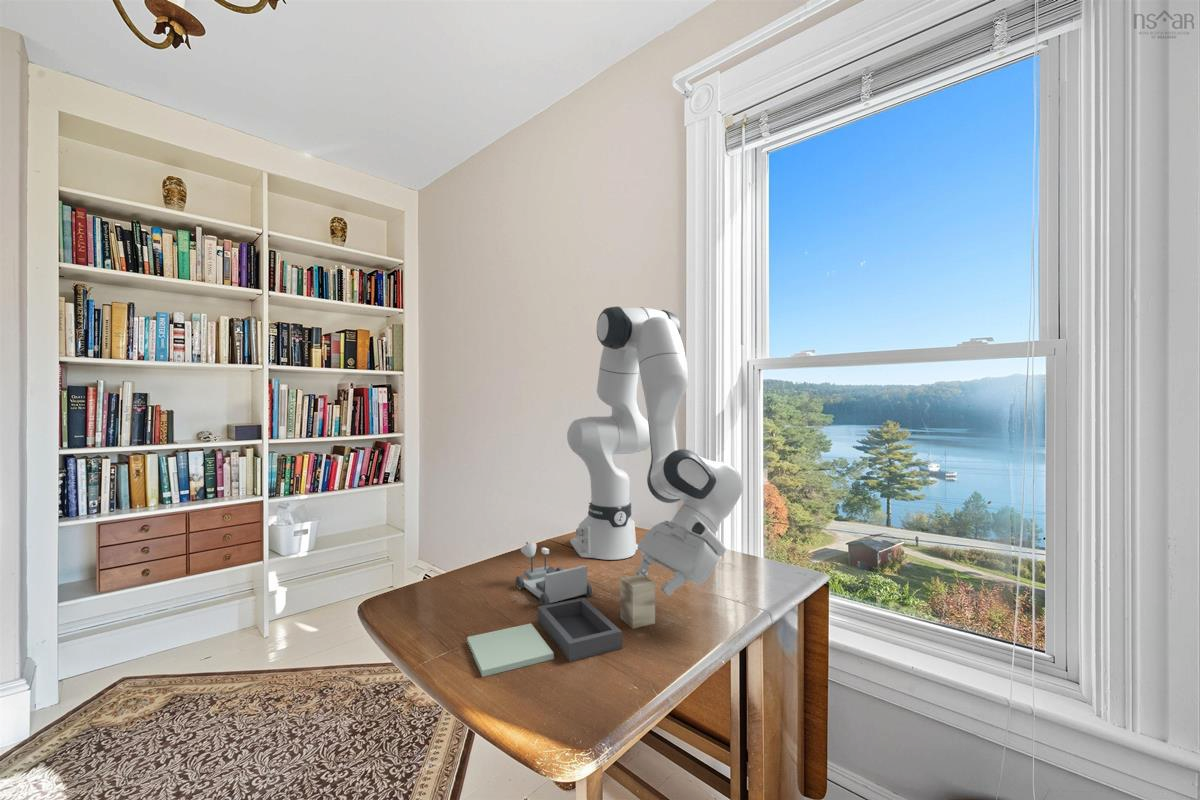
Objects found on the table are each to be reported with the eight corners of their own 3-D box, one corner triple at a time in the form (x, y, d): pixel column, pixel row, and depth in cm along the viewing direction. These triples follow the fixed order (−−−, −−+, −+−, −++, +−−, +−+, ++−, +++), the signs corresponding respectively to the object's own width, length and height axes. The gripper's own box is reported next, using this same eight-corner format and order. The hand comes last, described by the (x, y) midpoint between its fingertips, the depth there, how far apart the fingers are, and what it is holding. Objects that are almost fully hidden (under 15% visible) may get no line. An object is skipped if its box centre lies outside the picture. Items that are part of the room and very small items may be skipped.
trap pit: (537, 622, 94) (537, 606, 94) (583, 612, 99) (583, 597, 99) (569, 661, 80) (569, 643, 80) (621, 648, 85) (621, 631, 85)
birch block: (620, 618, 96) (620, 578, 96) (641, 613, 99) (641, 574, 99) (632, 628, 92) (633, 586, 92) (654, 623, 94) (655, 582, 94)
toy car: (510, 542, 115) (553, 535, 122) (510, 583, 115) (553, 574, 122) (546, 564, 100) (592, 554, 107) (546, 611, 100) (592, 598, 107)
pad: (467, 642, 86) (467, 637, 86) (531, 628, 92) (531, 623, 92) (482, 677, 76) (482, 670, 76) (553, 658, 81) (553, 653, 81)
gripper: (654, 510, 109) (617, 559, 105) (714, 532, 91) (671, 592, 87) (671, 527, 111) (634, 576, 107) (732, 552, 93) (691, 612, 89)
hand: (651, 584), depth 97 cm, fingers open, 8 cm apart
